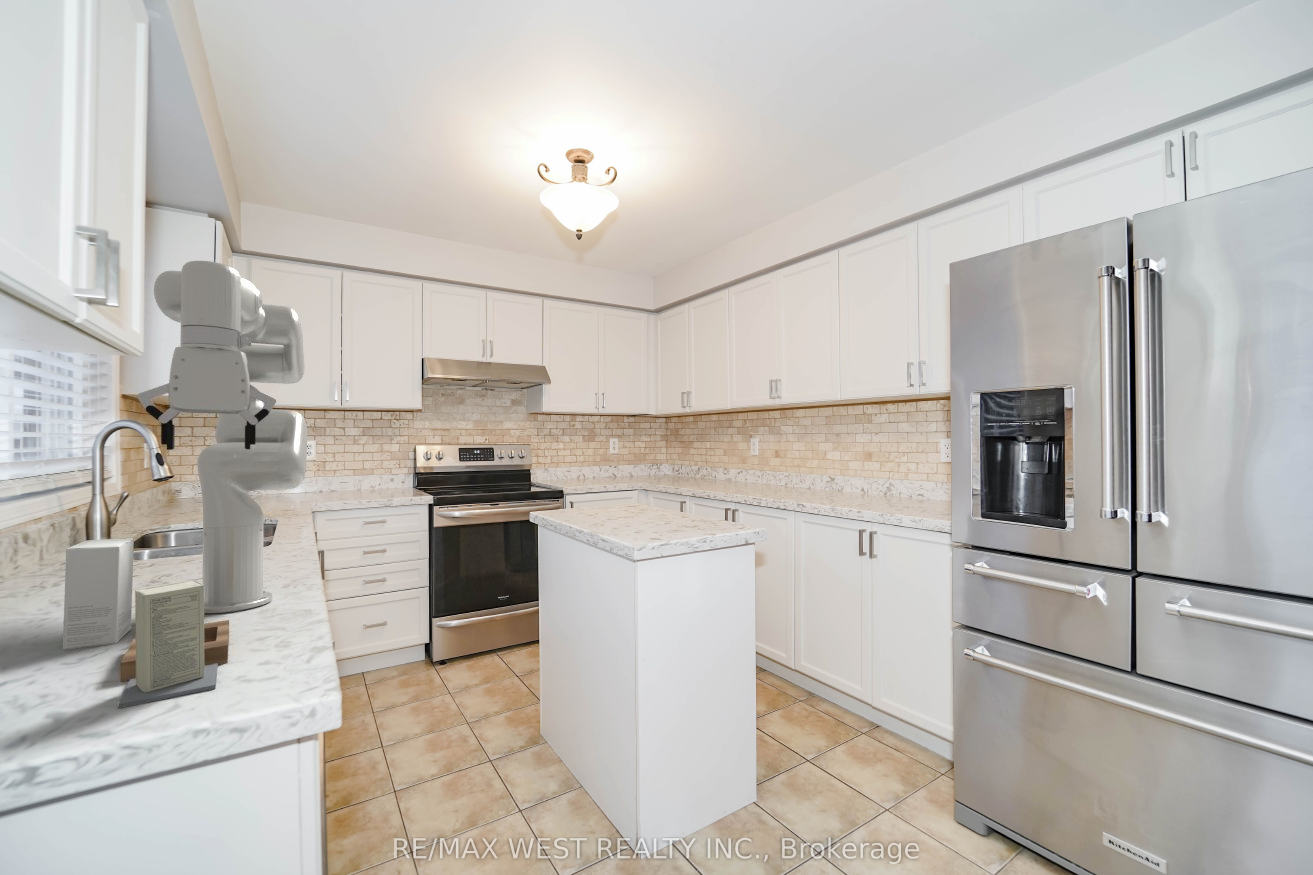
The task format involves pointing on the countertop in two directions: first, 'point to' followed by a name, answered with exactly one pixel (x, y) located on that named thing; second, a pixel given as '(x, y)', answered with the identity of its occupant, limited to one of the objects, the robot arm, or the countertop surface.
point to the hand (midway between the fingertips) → (210, 449)
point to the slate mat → (169, 689)
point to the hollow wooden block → (213, 649)
